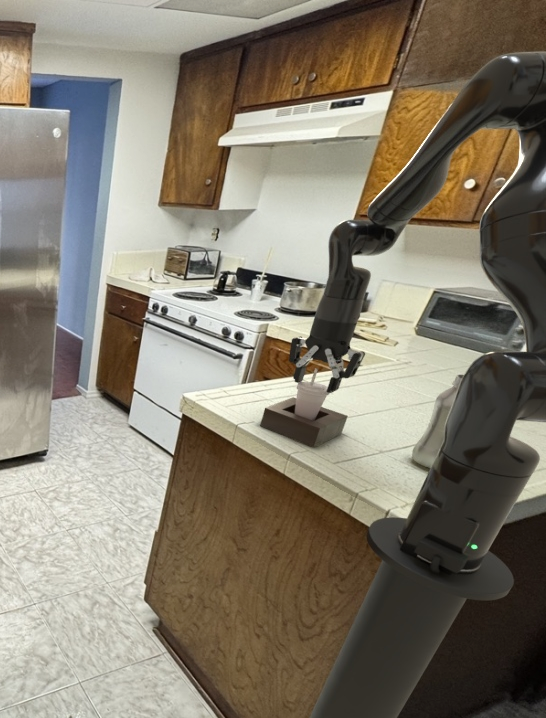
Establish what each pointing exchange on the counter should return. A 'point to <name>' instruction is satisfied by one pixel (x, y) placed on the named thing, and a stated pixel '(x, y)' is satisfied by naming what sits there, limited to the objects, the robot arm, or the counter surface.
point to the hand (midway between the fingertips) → (314, 386)
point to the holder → (303, 423)
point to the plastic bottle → (435, 427)
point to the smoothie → (310, 398)
